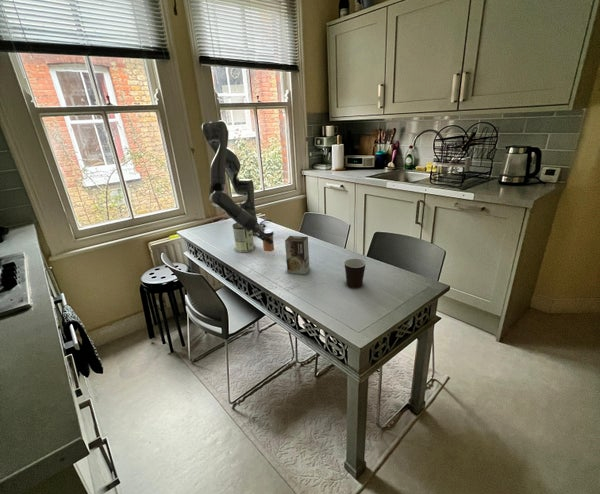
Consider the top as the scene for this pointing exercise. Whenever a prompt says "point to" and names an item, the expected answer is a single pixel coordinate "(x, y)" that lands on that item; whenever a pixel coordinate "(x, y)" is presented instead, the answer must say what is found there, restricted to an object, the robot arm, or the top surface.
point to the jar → (268, 245)
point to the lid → (268, 232)
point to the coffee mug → (354, 272)
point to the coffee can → (243, 239)
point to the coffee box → (297, 254)
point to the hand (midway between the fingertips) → (271, 240)
